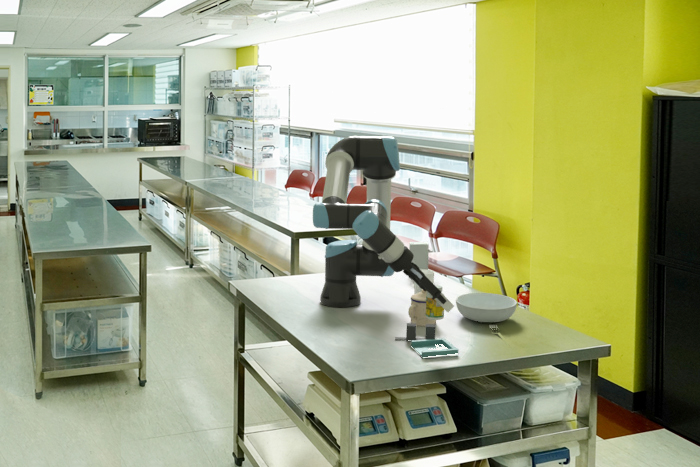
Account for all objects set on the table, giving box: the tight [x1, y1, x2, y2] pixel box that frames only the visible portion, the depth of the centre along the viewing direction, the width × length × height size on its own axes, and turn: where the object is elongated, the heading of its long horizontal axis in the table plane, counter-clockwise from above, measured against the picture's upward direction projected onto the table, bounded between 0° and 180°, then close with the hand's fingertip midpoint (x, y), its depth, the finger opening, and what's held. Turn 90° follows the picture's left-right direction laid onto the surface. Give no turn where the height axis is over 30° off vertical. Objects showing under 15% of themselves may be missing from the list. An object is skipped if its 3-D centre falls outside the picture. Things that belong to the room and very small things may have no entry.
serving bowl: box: [455, 292, 518, 323], centre depth 248 cm, size 21×21×7 cm
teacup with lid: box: [408, 289, 437, 327], centre depth 241 cm, size 12×9×12 cm
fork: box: [489, 324, 499, 329], centre depth 227 cm, size 3×20×2 cm, turn 8°
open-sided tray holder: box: [410, 337, 459, 358], centre depth 214 cm, size 11×11×2 cm
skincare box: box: [408, 241, 429, 270], centre depth 311 cm, size 8×6×15 cm
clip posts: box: [394, 322, 436, 342], centre depth 224 cm, size 16×3×5 cm, turn 84°
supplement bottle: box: [426, 284, 445, 321], centre depth 212 cm, size 5×5×10 cm
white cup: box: [413, 269, 435, 295], centre depth 277 cm, size 8×8×10 cm
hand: (446, 306), depth 213 cm, fingers closed on supplement bottle, 5 cm apart
